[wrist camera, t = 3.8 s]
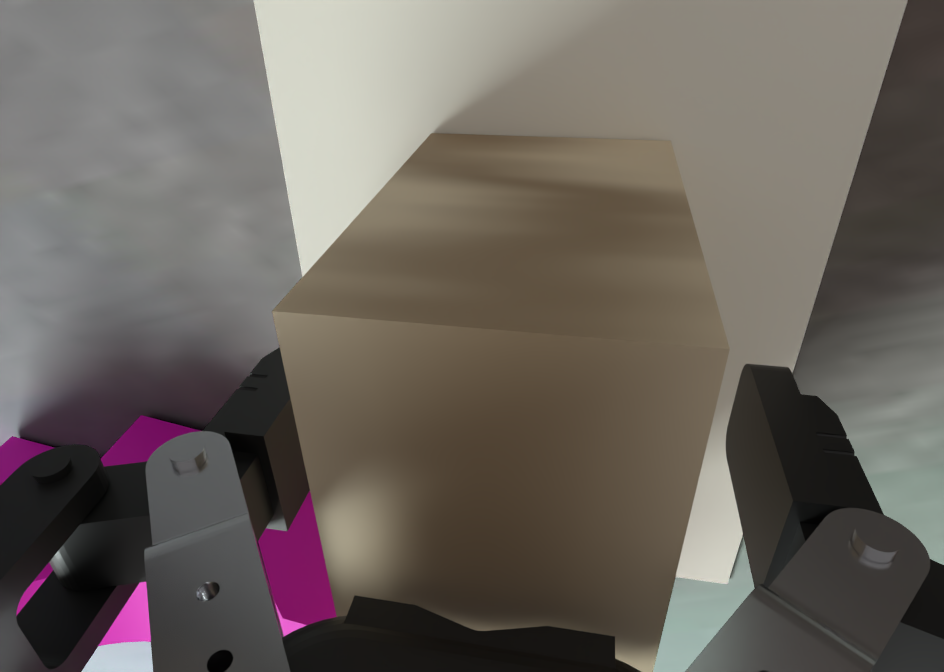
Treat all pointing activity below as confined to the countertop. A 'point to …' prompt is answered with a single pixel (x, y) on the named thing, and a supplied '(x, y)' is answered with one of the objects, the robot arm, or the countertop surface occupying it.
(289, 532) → the toy block
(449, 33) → the tile
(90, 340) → the countertop surface
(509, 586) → the maple block
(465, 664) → the robot arm
